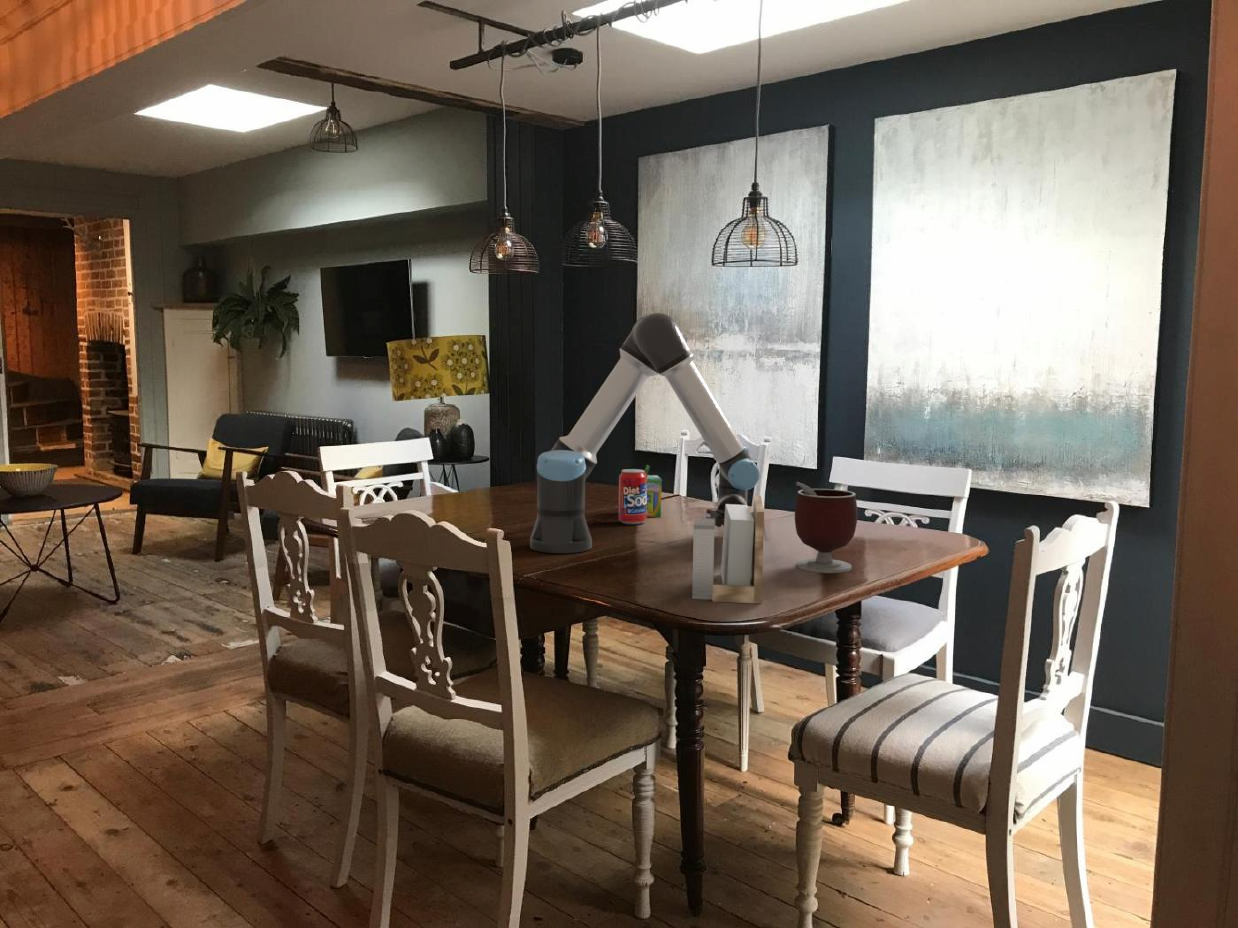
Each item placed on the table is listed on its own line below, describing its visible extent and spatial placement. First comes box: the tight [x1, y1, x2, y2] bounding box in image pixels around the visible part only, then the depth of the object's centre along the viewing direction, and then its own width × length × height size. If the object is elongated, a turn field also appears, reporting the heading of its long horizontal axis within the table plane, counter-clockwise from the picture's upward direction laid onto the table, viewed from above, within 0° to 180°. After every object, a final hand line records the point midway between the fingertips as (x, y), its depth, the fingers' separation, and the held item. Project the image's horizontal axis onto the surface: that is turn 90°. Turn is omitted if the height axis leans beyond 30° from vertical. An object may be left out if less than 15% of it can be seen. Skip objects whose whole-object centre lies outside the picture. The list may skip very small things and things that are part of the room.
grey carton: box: [691, 517, 716, 601], centre depth 200 cm, size 4×8×15 cm, turn 174°
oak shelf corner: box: [712, 494, 765, 604], centre depth 204 cm, size 10×22×18 cm, turn 174°
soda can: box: [618, 468, 648, 526], centre depth 281 cm, size 8×8×15 cm
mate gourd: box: [794, 481, 858, 574], centre depth 226 cm, size 16×14×20 cm
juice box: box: [644, 464, 663, 518], centre depth 294 cm, size 9×9×15 cm
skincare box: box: [720, 504, 754, 586], centre depth 207 cm, size 21×5×16 cm, turn 177°
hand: (732, 527), depth 227 cm, fingers closed
